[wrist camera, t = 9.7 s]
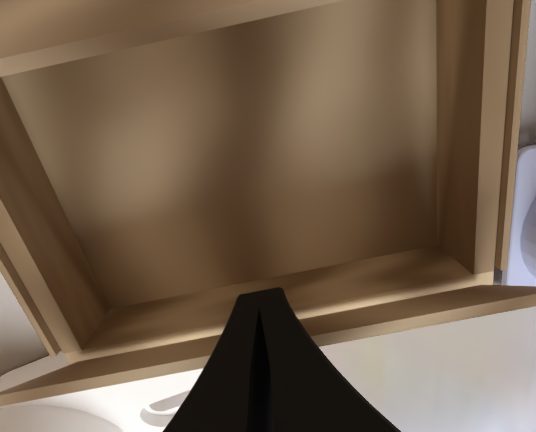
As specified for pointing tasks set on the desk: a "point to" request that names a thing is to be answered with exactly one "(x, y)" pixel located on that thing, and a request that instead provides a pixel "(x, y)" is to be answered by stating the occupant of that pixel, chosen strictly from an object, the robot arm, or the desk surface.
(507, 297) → the flap far
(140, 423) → the bracket
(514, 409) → the desk surface
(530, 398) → the desk surface
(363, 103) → the carton
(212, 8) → the flap near
